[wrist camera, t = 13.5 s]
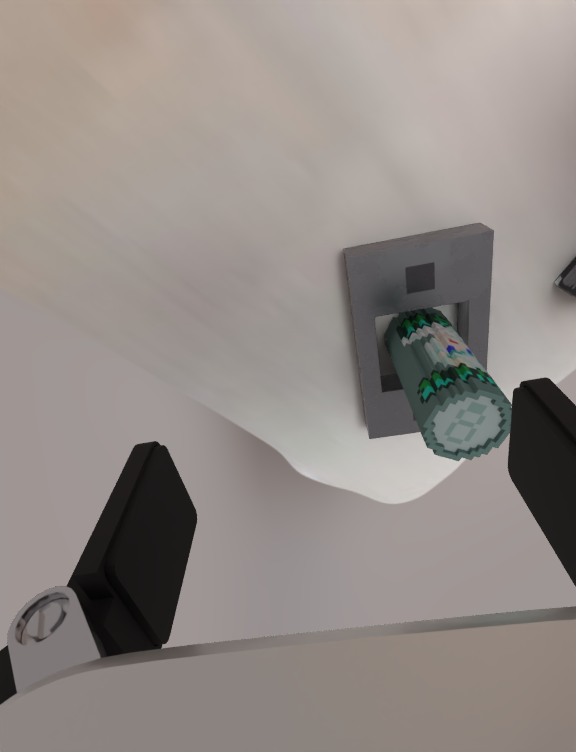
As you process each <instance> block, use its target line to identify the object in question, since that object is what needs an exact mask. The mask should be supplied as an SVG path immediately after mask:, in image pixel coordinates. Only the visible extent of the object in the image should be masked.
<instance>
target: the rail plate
mask: <svg viewBox="0 0 576 752" xmlns="http://www.w3.org/2000/svg"><path fill="white" fill-rule="evenodd" d="M493 237H494V230H492V229H490V228H489V227H487V226H485V225H483V224H482V223H476V224H471V225H465V226H460V227H455V228H450V229H444V230H439V231H434V232H429V233H424V234H418V235H413V236H408V237H403V238H397V239H392V240H387V241H382V242H376V243H371V244H366V245H361V246H355V247H350V248H345V249H344V256H345V264H346V272H347V280H348V288H349V296H350V304H351V311H352V319H353V327H354V335H355V343H356V351H357V359H358V367H359V374H360V382H361V390H362V398H363V406H364V414H365V422H366V426H367V430H368V435H369V439H373V438H380V437H387V436H394V435H402V434H409V433H416V432H420V429H419V426H418V424H417V421H416V419H415V416H414V414H413V411H412V409H411V406H410V404H409V401H408V399H407V396H406V394H405V391H404V389H403V386H402V384H401V381H400V379H399V376H398V374H394V375H387V376H381V377H380V368H379V358H378V348H377V338H376V328H375V317H377V316H383V315H389V314H394V313H400V312H406V311H412V310H418V309H424V308H429V307H435V306H441V305H447V304H453V303H458V334H459V335H460V337H461V338H462V339H463V341H464V342H465V343H466V345H467V346H468V347H469V349H470V350H471V351H472V353H473V354H474V355H475V357H476V358H477V359H478V361H479V362H480V363H481V365H482V366H483V367H484V369H485V370H486V371H487V352H488V333H489V313H490V294H491V275H492V256H493Z"/></svg>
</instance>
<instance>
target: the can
mask: <svg viewBox="0 0 576 752" xmlns="http://www.w3.org/2000/svg"><path fill="white" fill-rule="evenodd" d="M385 336H386V341H385V344H386V346H387V349H388V351H389V354H390V356H391V359H392V361H393V364H394V366H395V369H396V371H397V374H398V376H399V379H400V381H401V384H402V386H403V389H404V391H405V394H406V396H407V399H408V401H409V404H410V406H411V409H412V411H413V414H414V416H415V419H416V421H417V424H418V426H419V429H420V432H421V434H422V437H423V439H424V441H425V443H426V446H427V448H430V449H433V452H434V454H435V455H438V456H442V457H446V458H449V459H453V460H457V461H459V460H460V459H461V458H462V457H463V458H466V459H470V460H471V459H472V458H473V457H474V456H476V457H480V455H481V454H488V453H489V451H490V450H491V449H492V447H495V448H498V447H499V446H500V445H501V443H502V442H503V441H504V440H505V438H506V437H507V436H508V434H509V433H510V428H511V414H512V408H511V406H512V404H511V403H510V402H509V400H508V399H507V398H506V396H505V395H504V394H503V392H502V391H501V390H500V388H499V387H498V386H497V384H496V383H495V382H494V380H493V379H492V378H491V377H490V375H489V374H488V373H487V371H486V370H485V369H484V367H483V366H482V365H481V363H480V362H479V361H478V359H477V358H476V357H475V355H474V354H473V353H472V351H471V350H470V349H469V347H468V346H467V345H466V343H465V342H464V341H463V339H462V338H461V337H460V335H459V334H458V333H457V331H456V330H455V329H454V327H453V326H452V325H451V323H450V322H449V321H448V319H447V318H446V317H445V316H444V315H443V314H442V312H441V311H439V310H436V309H433V308H430V307H429V308H424V309H418V310H412V311H406V312H400V314H399V316H398V318H395V317H393V319H392V321H391V323H390V325H389V327H388V329H387V331H386V333H385Z"/></svg>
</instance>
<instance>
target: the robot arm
mask: <svg viewBox="0 0 576 752" xmlns="http://www.w3.org/2000/svg"><path fill="white" fill-rule="evenodd" d="M508 471H509V475H510V477H511V479H512V481H513V483H514V484H515V486H516V488H517V489H518V491H519V493H520V494H521V496H522V497H523V499H524V501H525V503H526V504H527V506H528V508H529V509H530V511H531V513H532V514H533V516H534V518H535V519H536V521H537V523H538V524H539V526H540V527H541V529H542V531H543V533H544V534H545V536H546V538H547V539H548V541H549V543H550V544H551V546H552V548H553V549H554V551H555V553H556V554H557V556H558V558H559V559H560V561H561V563H562V564H563V566H564V568H565V569H566V571H567V573H568V574H569V576H570V578H571V580H572V581H573V583H574V585H575V586H576V406H575V404H574V403H573V402H572V401H571V400H570V399H568V397H567V396H566V395H565V394H564V393H563V392H562V391H561V390H560V389H559V388H558V387H557V386H556V385H555V384H554V383H553V382H552V381H551V380H550V379H549V378H540V379H534V380H528V381H523V382H521V384H520V387H519V388H515V389H514V391H513V400H512V414H511V428H510V443H509V456H508ZM196 524H197V514H196V509H195V507H194V505H193V503H192V501H191V499H190V496H189V494H188V492H187V490H186V488H185V486H184V484H183V482H182V479H181V477H180V475H179V473H178V471H177V469H176V467H175V465H174V462H173V460H172V458H171V456H170V454H169V452H168V449H167V448H166V447H165V446H164V445H162V446H161V445H160V444H159V443H158V442H156V441H154V442H148V443H142V444H137V445H135V447H134V448H133V450H132V452H131V454H130V456H129V458H128V460H127V462H126V464H125V467H124V469H123V471H122V473H121V475H120V477H119V479H118V481H117V483H116V485H115V487H114V489H113V492H112V493H111V495H110V498H109V500H108V502H107V504H106V506H105V508H104V510H103V512H102V514H101V516H100V518H99V520H98V522H97V524H96V527H95V529H94V531H93V533H92V535H91V537H90V539H89V541H88V543H87V545H86V547H85V549H84V551H83V554H82V555H81V557H80V560H79V562H78V564H77V566H76V568H75V570H74V572H73V574H72V576H71V578H70V580H69V582H68V584H67V586H56V587H53V588H50V589H47V590H45V591H43V592H41V593H40V594H38V595H36V596H35V597H34V598H32V599H31V600H30V601H29V602H28V603H26V604H25V606H24V607H23V608H22V609H21V610H20V611H19V612H18V614H17V615H16V617H15V618H14V620H13V621H12V623H11V626H10V628H9V631H8V637H7V644H8V645H7V646H6V647H5V648H3V649H2V650H1V651H0V752H576V607H563V608H550V609H538V610H526V611H516V612H506V613H496V614H485V615H476V616H465V617H455V618H444V619H434V620H425V621H424V620H423V621H414V622H404V623H395V624H384V625H374V626H364V627H355V628H345V629H336V630H326V631H316V632H306V633H297V634H287V635H279V636H269V637H261V638H252V639H241V640H232V641H223V642H214V643H204V644H196V645H187V646H180V647H171V648H163V649H161V648H162V644H166V643H167V641H168V639H169V636H170V633H171V629H172V624H173V620H174V616H175V612H176V607H177V604H178V599H179V595H180V591H181V587H182V582H183V578H184V574H185V570H186V565H187V562H188V557H189V553H190V549H191V545H192V541H193V536H194V532H195V528H196Z"/></svg>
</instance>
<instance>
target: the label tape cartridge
mask: <svg viewBox="0 0 576 752" xmlns="http://www.w3.org/2000/svg"><path fill="white" fill-rule="evenodd" d="M554 284H555V285H557V286H558V287H560V288H561V289H563V290H564V291H566V292H567V293H569V294H570V295H572V296H573V297H575V298H576V258H575V259H574V260H573V261H572V263H571V264H570V265H569V266H568V267H567V268H566V270H565V271H564V272H563V273H562V274H561V275H560V276H559V278H558V279H557V280H556V281H555V282H554Z"/></svg>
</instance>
